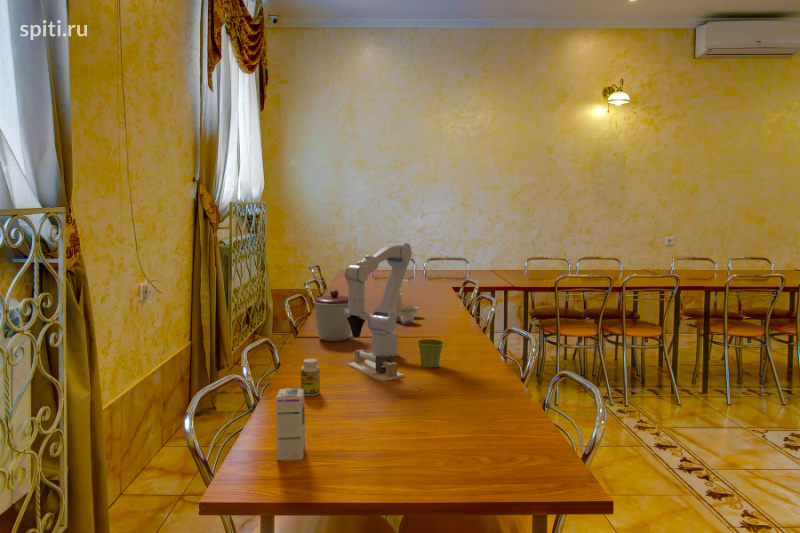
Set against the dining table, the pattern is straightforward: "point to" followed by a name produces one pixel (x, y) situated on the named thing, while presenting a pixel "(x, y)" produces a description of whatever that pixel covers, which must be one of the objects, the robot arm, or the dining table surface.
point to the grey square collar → (379, 362)
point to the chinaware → (404, 311)
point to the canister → (332, 317)
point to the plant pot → (430, 352)
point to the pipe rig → (374, 366)
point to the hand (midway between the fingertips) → (356, 336)
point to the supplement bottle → (310, 377)
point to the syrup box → (290, 424)
